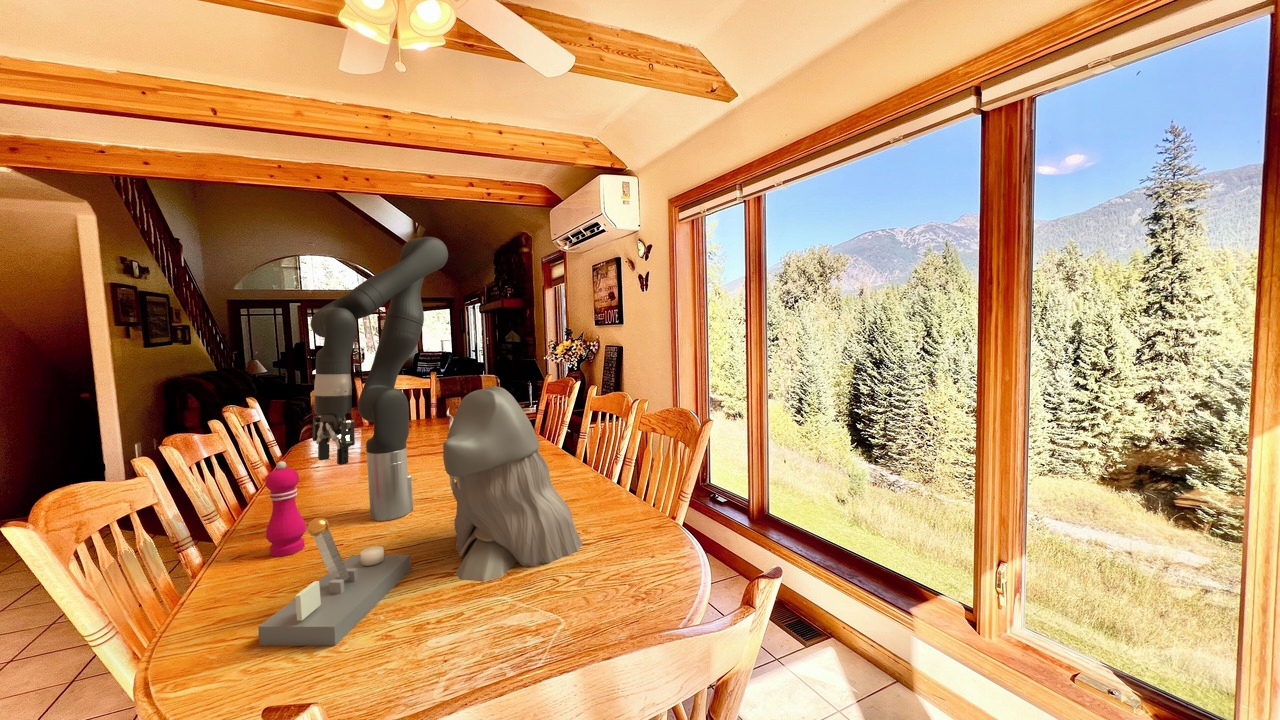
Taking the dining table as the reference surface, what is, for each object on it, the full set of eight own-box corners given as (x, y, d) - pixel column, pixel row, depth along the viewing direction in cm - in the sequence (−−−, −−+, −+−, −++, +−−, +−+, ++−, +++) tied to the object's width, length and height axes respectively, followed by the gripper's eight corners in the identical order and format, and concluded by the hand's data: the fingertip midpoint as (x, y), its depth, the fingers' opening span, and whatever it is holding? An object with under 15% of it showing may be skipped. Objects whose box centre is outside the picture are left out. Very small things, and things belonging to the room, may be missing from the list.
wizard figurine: (477, 511, 133) (471, 378, 131) (601, 518, 127) (598, 379, 124) (389, 574, 100) (379, 398, 98) (551, 588, 94) (544, 400, 91)
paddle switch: (297, 620, 79) (295, 595, 78) (316, 604, 83) (314, 581, 83) (302, 620, 79) (300, 595, 78) (320, 604, 83) (319, 581, 83)
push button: (356, 565, 97) (355, 555, 97) (368, 556, 101) (367, 546, 101) (377, 565, 97) (376, 555, 97) (388, 555, 101) (387, 546, 101)
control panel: (259, 645, 78) (257, 614, 78) (352, 569, 102) (351, 545, 102) (335, 645, 78) (333, 614, 78) (411, 569, 102) (409, 545, 102)
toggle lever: (328, 588, 88) (300, 525, 88) (339, 579, 92) (312, 518, 91) (344, 582, 88) (316, 519, 88) (355, 573, 91) (328, 512, 91)
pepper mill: (287, 559, 108) (280, 466, 106) (258, 556, 109) (251, 465, 108) (315, 544, 115) (309, 457, 113) (288, 542, 116) (281, 456, 115)
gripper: (366, 393, 119) (365, 463, 119) (334, 390, 126) (333, 455, 126) (332, 396, 112) (332, 469, 112) (301, 392, 120) (300, 461, 120)
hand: (333, 462), depth 119 cm, fingers open, 8 cm apart
